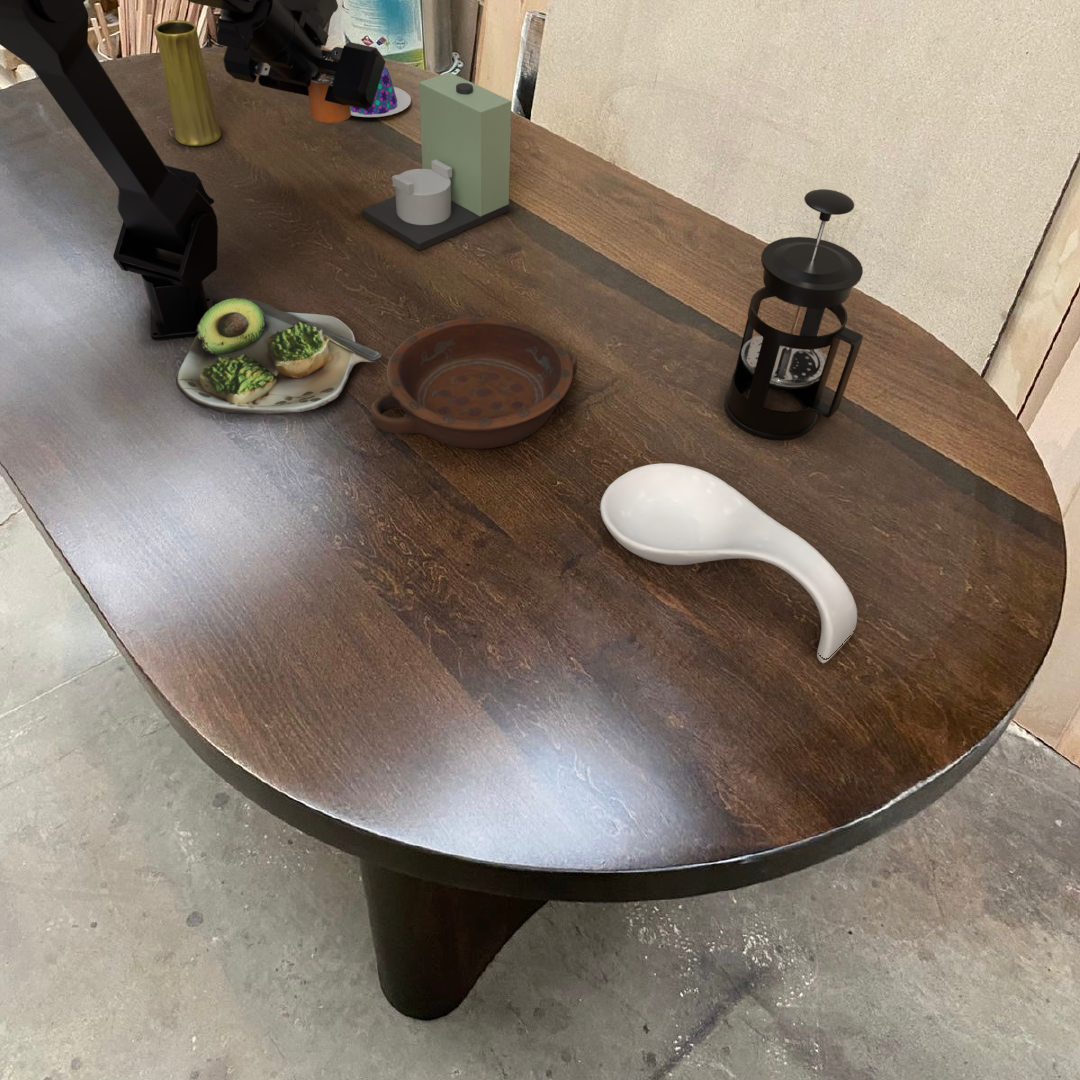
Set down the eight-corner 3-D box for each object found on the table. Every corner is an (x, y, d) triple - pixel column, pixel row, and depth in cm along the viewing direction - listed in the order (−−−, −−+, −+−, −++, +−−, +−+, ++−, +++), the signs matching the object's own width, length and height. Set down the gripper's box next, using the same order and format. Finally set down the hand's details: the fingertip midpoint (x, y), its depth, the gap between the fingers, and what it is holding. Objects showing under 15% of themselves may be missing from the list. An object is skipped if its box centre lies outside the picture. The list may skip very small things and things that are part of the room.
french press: (700, 408, 98) (747, 194, 81) (748, 368, 103) (802, 158, 86) (802, 461, 93) (874, 245, 76) (847, 416, 98) (924, 204, 81)
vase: (201, 123, 137) (178, 15, 126) (230, 136, 134) (210, 27, 124) (166, 137, 133) (140, 27, 123) (196, 151, 131) (172, 39, 120)
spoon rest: (570, 537, 84) (577, 477, 79) (652, 472, 91) (663, 413, 85) (802, 694, 74) (827, 637, 69) (876, 609, 80) (904, 551, 75)
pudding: (425, 99, 146) (424, 63, 142) (385, 128, 138) (382, 91, 134) (357, 82, 149) (354, 46, 145) (314, 110, 141) (309, 73, 137)
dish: (620, 425, 95) (626, 385, 92) (417, 497, 87) (415, 455, 83) (532, 333, 105) (534, 293, 102) (342, 390, 97) (337, 348, 93)
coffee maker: (419, 251, 116) (413, 130, 105) (362, 216, 121) (351, 98, 110) (508, 211, 123) (511, 95, 113) (451, 180, 129) (449, 66, 118)
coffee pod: (360, 117, 117) (356, 75, 114) (322, 127, 115) (317, 84, 112) (339, 102, 120) (335, 60, 117) (301, 111, 118) (296, 69, 114)
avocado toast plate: (395, 325, 105) (392, 288, 102) (363, 431, 93) (359, 393, 89) (218, 310, 105) (210, 272, 102) (164, 414, 93) (152, 375, 89)
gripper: (370, -31, 100) (423, 47, 115) (218, -61, 104) (289, 18, 119) (338, 74, 100) (395, 138, 115) (188, 40, 105) (263, 106, 120)
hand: (335, 97), depth 117 cm, fingers closed on coffee pod, 5 cm apart
